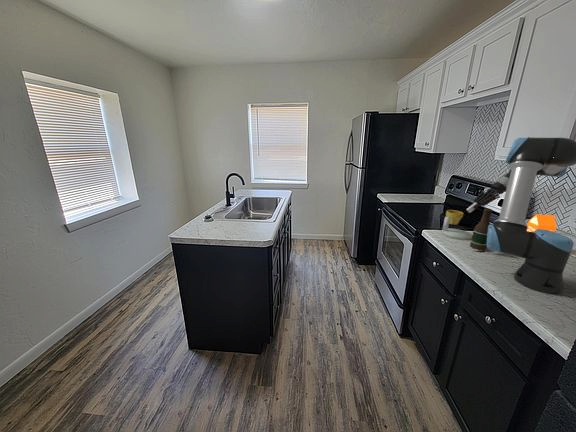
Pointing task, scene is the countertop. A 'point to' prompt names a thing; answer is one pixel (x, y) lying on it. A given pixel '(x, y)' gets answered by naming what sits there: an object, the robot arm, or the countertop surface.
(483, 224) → the beer bottle
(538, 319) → the countertop surface
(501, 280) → the countertop surface
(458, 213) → the plant pot
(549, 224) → the orange juice
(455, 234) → the capstan dial
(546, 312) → the countertop surface
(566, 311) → the countertop surface
